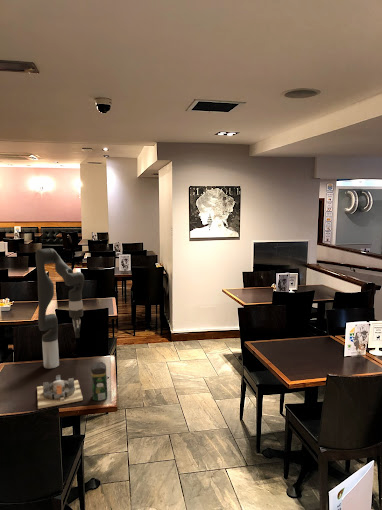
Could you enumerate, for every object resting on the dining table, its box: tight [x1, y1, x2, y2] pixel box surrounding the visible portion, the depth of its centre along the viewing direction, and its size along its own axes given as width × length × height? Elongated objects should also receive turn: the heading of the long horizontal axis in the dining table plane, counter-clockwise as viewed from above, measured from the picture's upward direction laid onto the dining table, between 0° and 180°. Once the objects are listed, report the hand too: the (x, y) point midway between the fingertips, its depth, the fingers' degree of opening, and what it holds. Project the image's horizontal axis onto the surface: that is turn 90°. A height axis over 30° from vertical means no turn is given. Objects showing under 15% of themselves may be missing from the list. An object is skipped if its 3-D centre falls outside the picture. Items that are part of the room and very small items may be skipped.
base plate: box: [36, 379, 84, 410], centre depth 218 cm, size 22×22×7 cm
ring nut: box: [42, 374, 75, 400], centre depth 217 cm, size 16×16×6 cm
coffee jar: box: [90, 361, 108, 402], centre depth 214 cm, size 10×8×19 cm
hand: (77, 337), depth 229 cm, fingers closed
